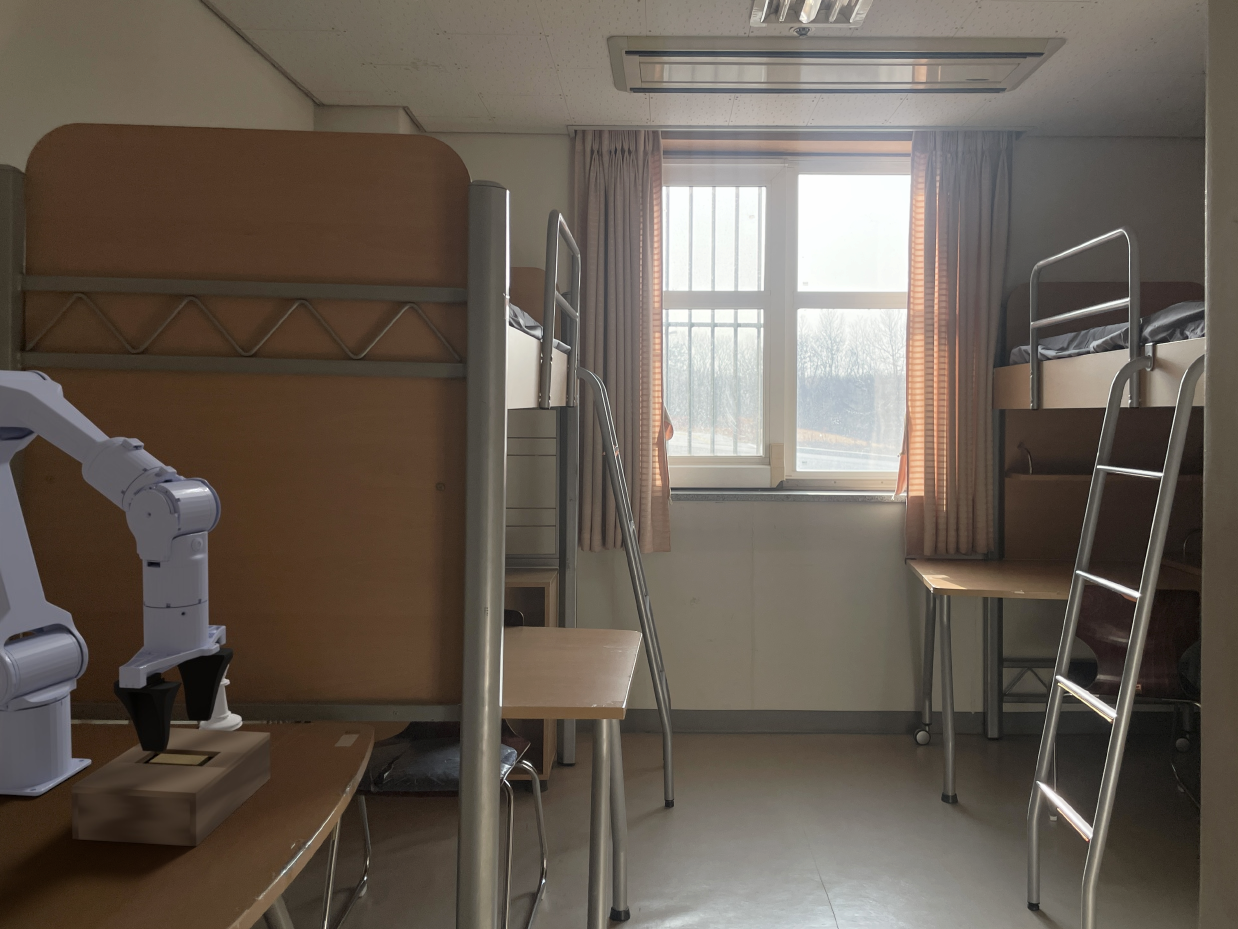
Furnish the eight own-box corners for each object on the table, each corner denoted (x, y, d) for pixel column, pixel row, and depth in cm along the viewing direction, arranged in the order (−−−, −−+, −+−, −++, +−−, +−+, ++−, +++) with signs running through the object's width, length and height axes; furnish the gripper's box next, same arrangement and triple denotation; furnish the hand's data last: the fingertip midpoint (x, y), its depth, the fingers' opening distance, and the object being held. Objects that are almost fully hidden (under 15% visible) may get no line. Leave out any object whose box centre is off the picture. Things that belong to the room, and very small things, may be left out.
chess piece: (224, 736, 100) (224, 656, 100) (189, 732, 101) (188, 653, 101) (250, 721, 105) (250, 645, 104) (216, 717, 106) (216, 641, 105)
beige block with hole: (72, 839, 76) (71, 786, 76) (165, 772, 90) (164, 727, 90) (196, 846, 76) (195, 793, 75) (270, 778, 90) (270, 732, 89)
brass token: (149, 810, 82) (148, 762, 82) (161, 800, 84) (161, 753, 84) (197, 813, 82) (197, 764, 81) (208, 803, 84) (208, 756, 83)
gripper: (170, 622, 74) (172, 767, 75) (252, 587, 88) (253, 709, 89) (96, 618, 74) (99, 763, 75) (189, 584, 89) (191, 706, 90)
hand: (178, 734), depth 82 cm, fingers open, 7 cm apart
